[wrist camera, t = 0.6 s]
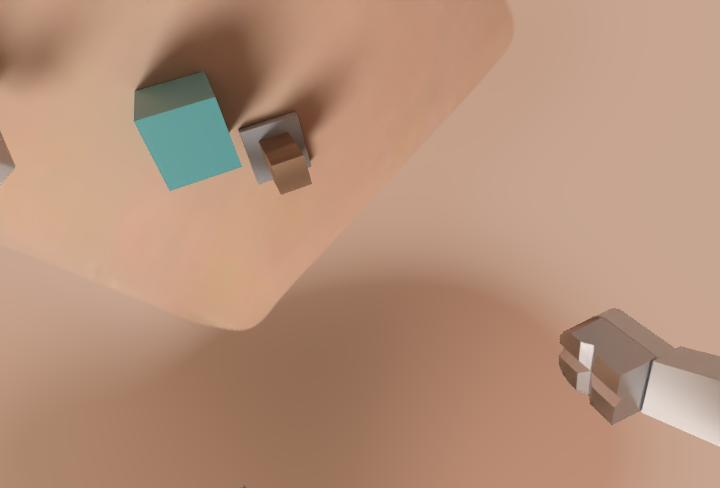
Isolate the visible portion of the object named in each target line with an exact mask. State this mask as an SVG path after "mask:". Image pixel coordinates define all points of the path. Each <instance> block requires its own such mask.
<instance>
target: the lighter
mask: <svg viewBox="0 0 720 488" xmlns="http://www.w3.org/2000/svg"><path fill="white" fill-rule="evenodd" d="M14 168H15V164H14V162H13V160H12V157H11V155H10V153H9V150H8V148H7V146H6V144H5V141H4V139H3V137H2V134H1V132H0V185H1V184H2V183H3V181H4V180H5V179H6V178H7V177H8V176H9V175H10V174H11V173H12V171H13V170H14Z"/></svg>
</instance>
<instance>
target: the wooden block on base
mask: <svg viewBox="0 0 720 488" xmlns="http://www.w3.org/2000/svg"><path fill="white" fill-rule="evenodd" d="M238 130H239V133H240V135H241V138H242V141H243V144H244V146H245V149H246V152H247V155H248V157H249V160H250V163H251V166H252V168H253V171H254V174H255V177H256V179H257V182H258V184H262V183H264V182H267V181H270V180H274V182H275V184H276V186H277V188H278V190H279V191H280V193H281V195H282V194H284V193H287V192H290V191H293V190H296V189H299V188H301V187H304V186H307V185H310V184H312V183H311V179H310V175H309V172H308V167H311V163H310V159H309V156H308V152H307V148H306V144H305V141H304V137H303V133H302V129H301V126H300V122H299V118H298V114H297V113H296V112H292V113H289V114H285V115H282V116H279V117H276V118H273V119H270V120H267V121H263V122H260V123H257V124H254V125H251V126H248V127H245V128H241V129H238Z"/></svg>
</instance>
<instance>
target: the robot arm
mask: <svg viewBox="0 0 720 488" xmlns="http://www.w3.org/2000/svg"><path fill="white" fill-rule="evenodd" d="M560 344H561V345H562V346H563V347H564V348H563V350H562V351H561V353H560V354H559V366H560V369H561V371H562V373H563V375H564V377H565V378H566V379H567V381H568V382H569V383H570V384H571V385H572V386H573V387H574V388H575V389H576V390H577V391H580V392H583V393H586V394H588V395H589V401H590V404H591V405H592V406H593V407H594V408H595V409H596V410H597V411H598V412H599V413H600V414H601V415H602V416H603V417H604V418H605V419H606V420H607V421H608V422H609V423H610V424H611V425H613V424H615V423H617V422H619V421H621V420H623V419H625V418H627V417H628V416H631V415H633V414H635V413H636V412H639V411H641V410H642V413H644V414H646V415H649V416H651V417H653V418H655V419H658V420H660V421H662V422H664V423H667V424H669V425H671V426H674V427H676V428H678V429H680V430H683V431H685V432H687V433H690V434H692V435H694V436H696V437H699V438H701V439H703V440H706V441H708V442H710V443H713V444H715V445H717V446H719V447H720V357H719V356H716V355H712V354H708V353H704V352H700V351H696V350H692V349H689V348H685V347H678V348H676V349H675V348H674V347H672V346H671V345H670V344H668V343H667V342H665V341H664V340H663V339H661V338H660V337H658V336H657V335H655V334H654V333H652V332H651V331H650V330H648V329H647V328H645V327H644V326H642V325H641V324H640V323H638V322H637V321H636V320H634V319H633V318H631V317H630V316H628V315H627V314H626V313H624V312H623V311H621V310H619V309H616V308H613V309H610V310H608V311H606V312H603V313H601V314H600V315H597V316H595V317H592V318H590V319H588V320H586V321H584V322H582V323H580V324H578V325H576V326H574V327H572V328H570V329H568V330H566V331H564V332H563V333H562V334H561V335H560ZM239 488H247V487H246V486H245V485H243V486H241V487H239Z"/></svg>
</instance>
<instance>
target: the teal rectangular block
mask: <svg viewBox="0 0 720 488" xmlns="http://www.w3.org/2000/svg"><path fill="white" fill-rule="evenodd" d="M134 122H135V124H136V126H137V128H138V130H139V132H140V134H141V136H142V138H143V140H144V142H145V144H146V146H147V148H148V150H149V152H150V154H151V155H152V157H153V159H154V161H155V163H156V165H157V167H158V169H159V171H160V173H161V175H162V177H163V179H164V181H165V183H166V185H167V187H168V188H169V190H170V191H171V190H174V189H177V188H180V187H183V186H186V185H189V184H192V183H195V182H198V181H201V180H204V179H207V178H210V177H213V176H216V175H219V174H222V173H225V172H228V171H231V170H234V169H237V168H240V167H242V166H241V163H240V161H239V158H238V155H237V153H236V150H235V147H234V145H233V142H232V139H231V137H230V134H229V132H228V129H227V126H226V124H225V121H224V118H223V116H222V113H221V110H220V108H219V105H218V103H217V100H216V97H215V95H214V93H213V90H212V88H211V86H210V83H209V81H208V79H207V76H206V74H205V72H204V71H203V72H199V73H196V74H192V75H189V76H185V77H182V78H178V79H175V80H171V81H168V82H164V83H161V84H158V85H154V86H151V87H147V88H144V89H140V90H137V91H135V101H134Z"/></svg>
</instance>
